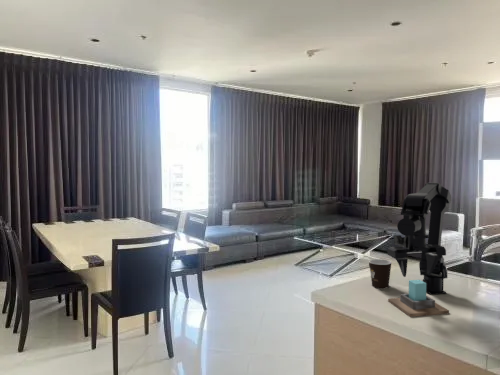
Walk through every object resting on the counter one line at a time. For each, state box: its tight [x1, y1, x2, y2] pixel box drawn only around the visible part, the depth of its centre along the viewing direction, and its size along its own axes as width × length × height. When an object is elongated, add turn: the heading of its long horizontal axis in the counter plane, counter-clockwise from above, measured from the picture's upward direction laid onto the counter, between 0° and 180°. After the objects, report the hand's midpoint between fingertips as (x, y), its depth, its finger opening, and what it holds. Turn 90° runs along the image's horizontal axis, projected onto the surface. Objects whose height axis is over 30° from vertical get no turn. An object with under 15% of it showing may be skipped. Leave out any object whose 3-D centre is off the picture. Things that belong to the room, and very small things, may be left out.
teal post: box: [408, 279, 427, 301], centre depth 130 cm, size 4×4×8 cm
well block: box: [387, 293, 450, 318], centre depth 131 cm, size 14×14×4 cm
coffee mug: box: [368, 258, 392, 289], centre depth 155 cm, size 12×9×10 cm
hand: (416, 275), depth 131 cm, fingers open, 9 cm apart
